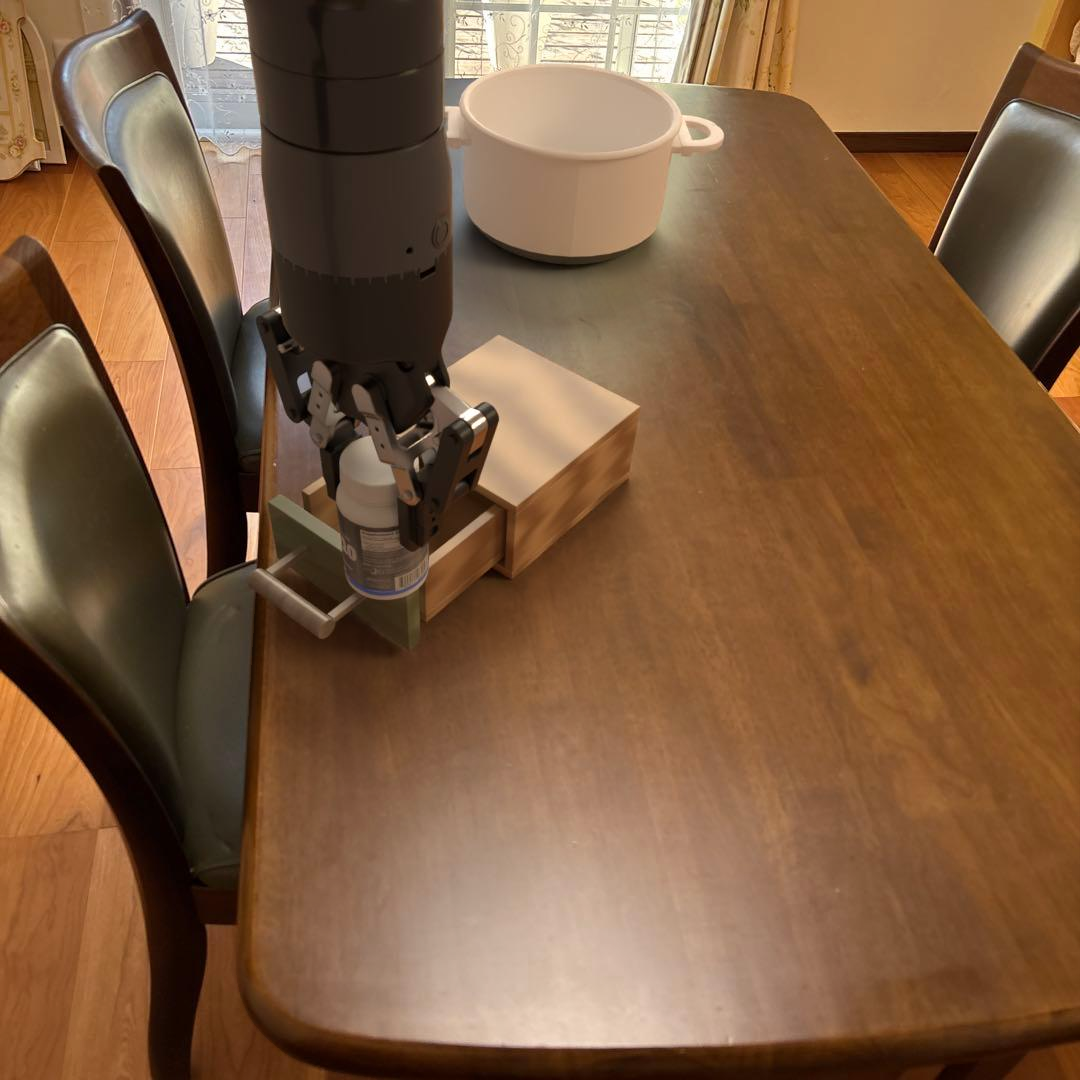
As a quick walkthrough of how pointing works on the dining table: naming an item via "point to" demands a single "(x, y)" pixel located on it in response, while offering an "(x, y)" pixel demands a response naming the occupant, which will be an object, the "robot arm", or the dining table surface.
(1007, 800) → the dining table surface
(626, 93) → the pot
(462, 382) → the cabinet
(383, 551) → the pill bottle
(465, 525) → the drawer
